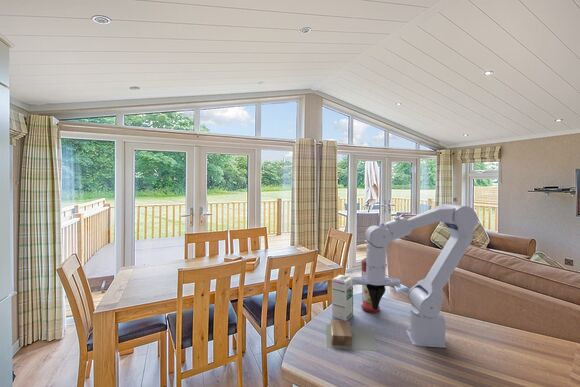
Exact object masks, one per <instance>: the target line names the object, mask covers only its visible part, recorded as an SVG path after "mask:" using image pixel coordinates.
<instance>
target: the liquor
mask: <svg viewBox="0 0 580 387" xmlns="http://www.w3.org/2000/svg"><path fill="white" fill-rule="evenodd" d="M366 258H367V257H364V258H363V259H362V260H361V262H360V263H361V277H362V276H366ZM361 288H362V303H361V306H360V307H361V308H362V310H364V311H365V312H367V313H376V312H378V311H379V310H380V309H381V307H380V304H379V305H378V310H375V309H373V308H372V302H371V297H370V294H369V291H368V289H367V286H366V285H361Z"/></svg>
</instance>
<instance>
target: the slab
mask: <svg viewBox="0 0 580 387" xmlns="http://www.w3.org/2000/svg"><path fill="white" fill-rule="evenodd" d="M330 325H331V343H332V345H343V346H352V334H351V329H350V326H351V324H350V321H349V320H347V321H344V320H341V319H338V320H336V319H330Z"/></svg>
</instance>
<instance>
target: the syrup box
mask: <svg viewBox="0 0 580 387" xmlns="http://www.w3.org/2000/svg"><path fill="white" fill-rule="evenodd" d="M351 277H352V276H350V275H344V274H338V275H337V276H335V277H333V278H332V279H331V315H332V316H331V317H333V318H335V319H338V320H341V321H349V319H350V318H352V317H353V315H354V285H352V284H351Z"/></svg>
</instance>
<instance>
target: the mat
mask: <svg viewBox="0 0 580 387" xmlns="http://www.w3.org/2000/svg"><path fill="white" fill-rule="evenodd" d="M325 326H326V327H325V332H326V335H325V337H326V338H325V339H326V348H327V349H329V348H330V349H341V350H342V349H343V350H359V351H372V352H373V351H375V352H379V349H378V345H377V342H376V339H375V336H374V332H373V329H372V327H371V326H362V325H361V326H359V325H350V329H351V334H352V346H343V345H332V343H331V324H326V325H325Z"/></svg>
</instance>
